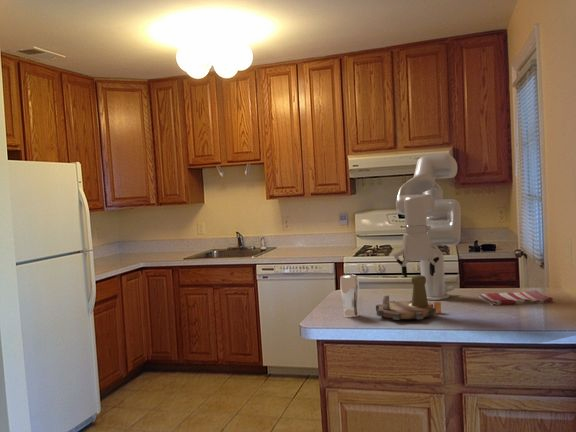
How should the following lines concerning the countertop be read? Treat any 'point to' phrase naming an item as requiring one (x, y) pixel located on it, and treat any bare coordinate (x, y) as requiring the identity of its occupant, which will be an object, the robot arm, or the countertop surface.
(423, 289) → the cork
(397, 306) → the sprocket wheel
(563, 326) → the countertop surface
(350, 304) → the beer glass
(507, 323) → the countertop surface
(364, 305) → the countertop surface
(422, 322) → the countertop surface
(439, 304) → the orange wooden block
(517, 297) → the dish towel
